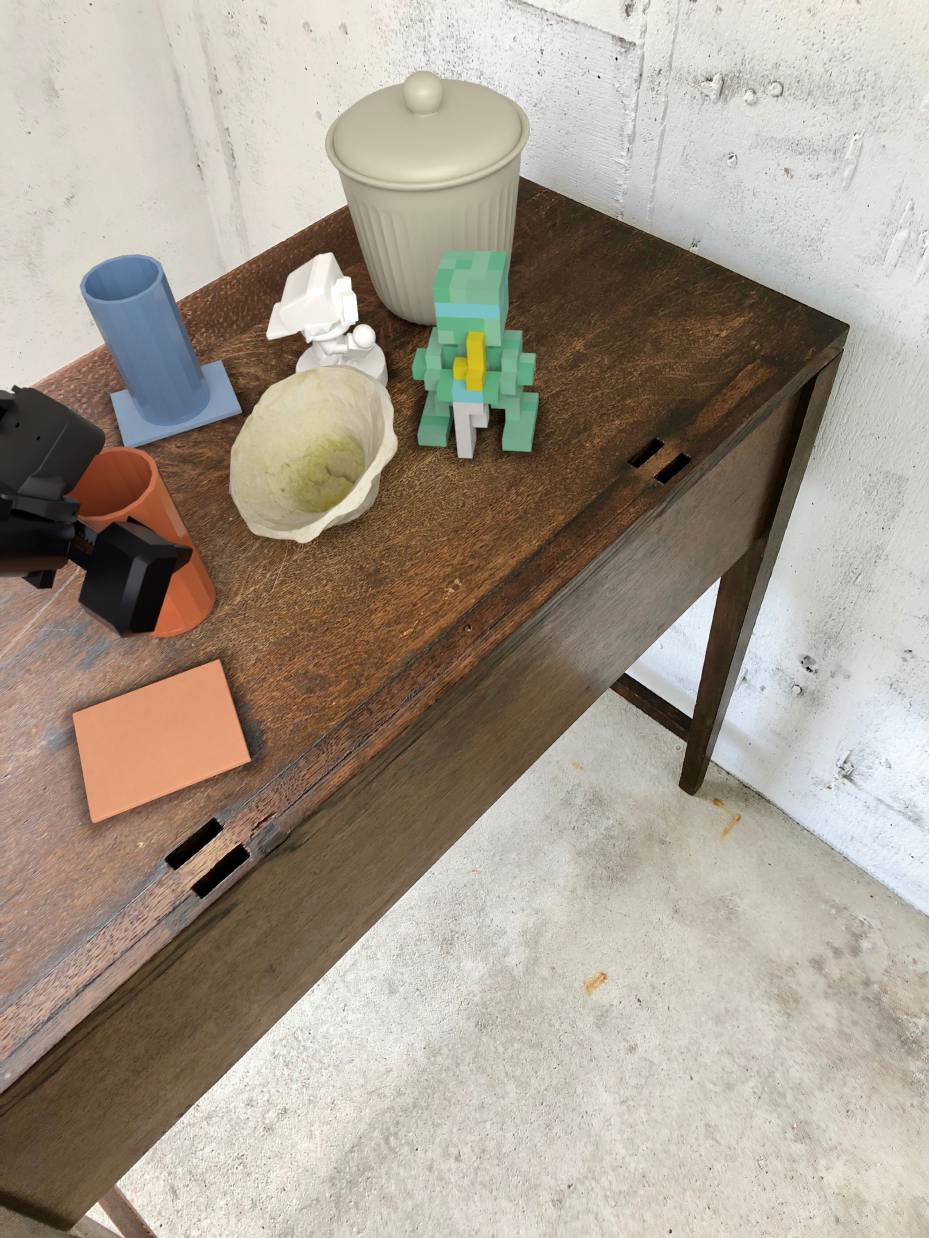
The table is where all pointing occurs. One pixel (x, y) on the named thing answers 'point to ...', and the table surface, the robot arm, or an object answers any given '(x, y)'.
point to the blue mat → (144, 432)
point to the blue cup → (146, 338)
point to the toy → (474, 357)
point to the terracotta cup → (141, 492)
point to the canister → (428, 180)
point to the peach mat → (158, 740)
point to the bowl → (312, 452)
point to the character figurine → (326, 319)
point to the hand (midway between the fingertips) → (156, 533)
